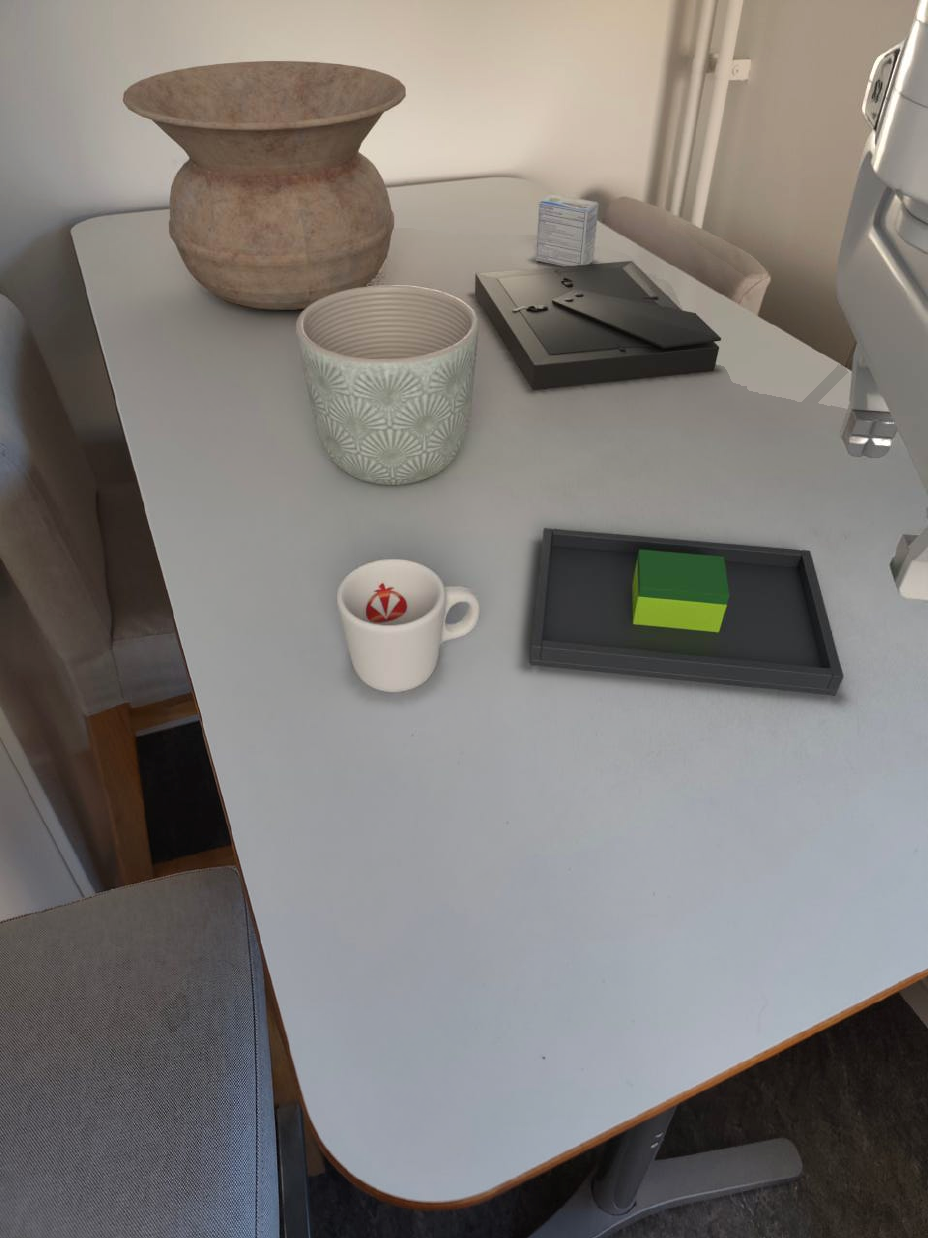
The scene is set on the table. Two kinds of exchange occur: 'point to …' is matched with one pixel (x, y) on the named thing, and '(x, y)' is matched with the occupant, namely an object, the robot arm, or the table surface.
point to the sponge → (679, 590)
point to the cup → (399, 621)
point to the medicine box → (566, 231)
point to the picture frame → (593, 325)
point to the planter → (390, 379)
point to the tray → (736, 655)
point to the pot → (274, 176)
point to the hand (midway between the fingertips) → (885, 511)
